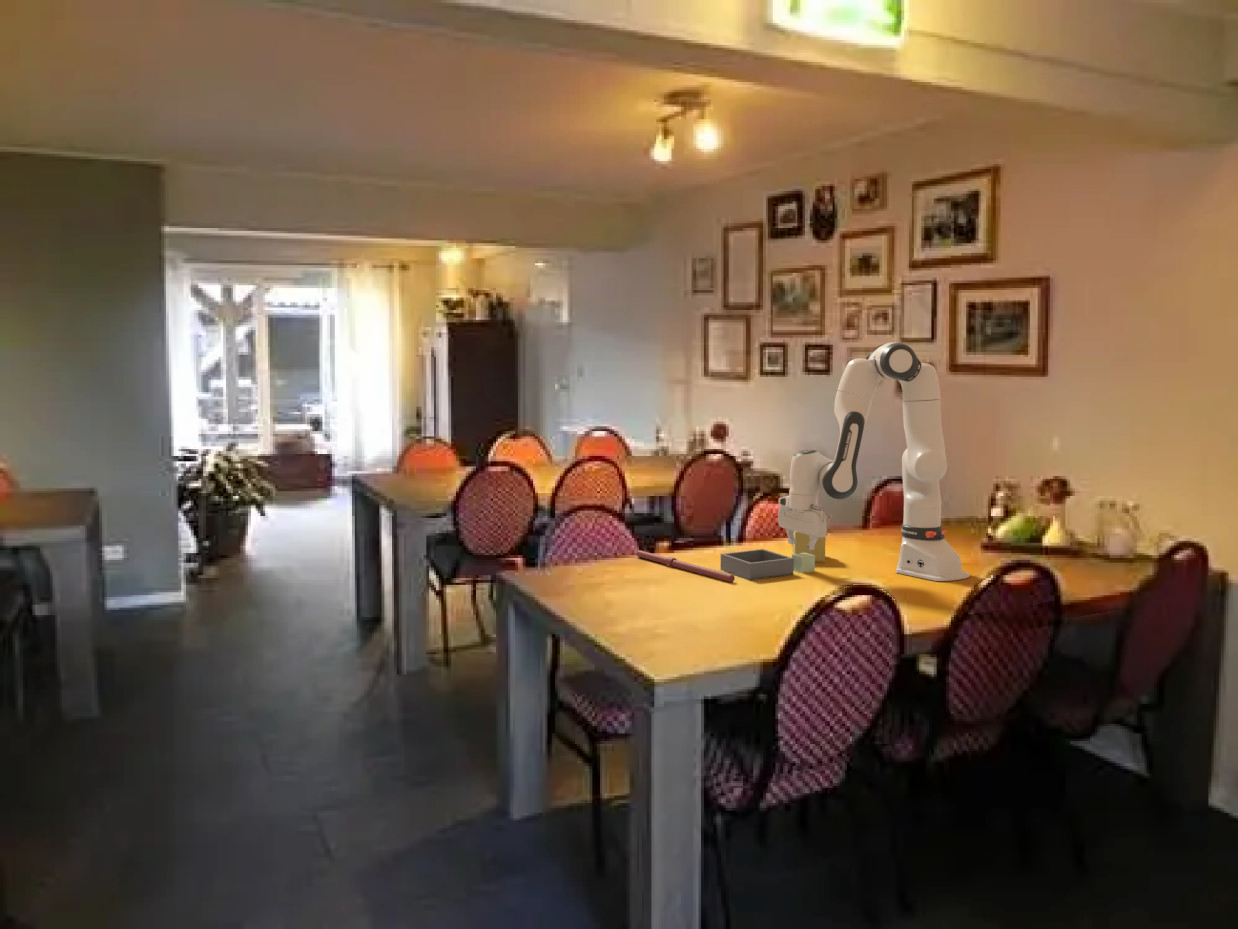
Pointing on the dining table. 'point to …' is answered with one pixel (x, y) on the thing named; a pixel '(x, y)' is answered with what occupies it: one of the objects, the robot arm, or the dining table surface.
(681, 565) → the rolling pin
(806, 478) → the robot arm
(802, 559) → the green cube
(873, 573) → the dining table surface
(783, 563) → the bin
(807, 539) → the cheese
